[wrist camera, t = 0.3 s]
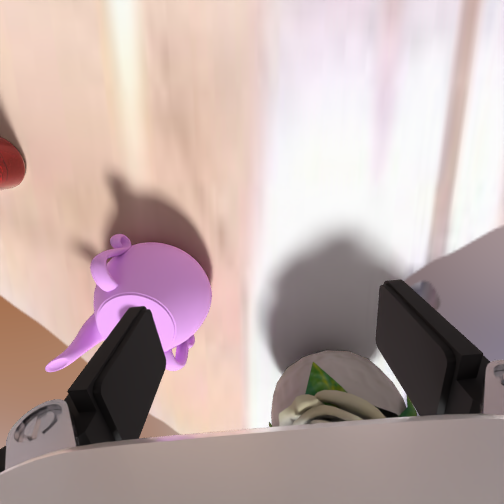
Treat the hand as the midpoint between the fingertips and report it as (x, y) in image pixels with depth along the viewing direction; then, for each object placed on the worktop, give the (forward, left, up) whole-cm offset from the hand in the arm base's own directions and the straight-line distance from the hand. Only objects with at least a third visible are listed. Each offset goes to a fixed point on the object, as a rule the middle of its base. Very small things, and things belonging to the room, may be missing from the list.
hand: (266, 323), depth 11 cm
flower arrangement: (+20, +31, -31) cm, 48 cm away
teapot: (+24, -5, -31) cm, 39 cm away
